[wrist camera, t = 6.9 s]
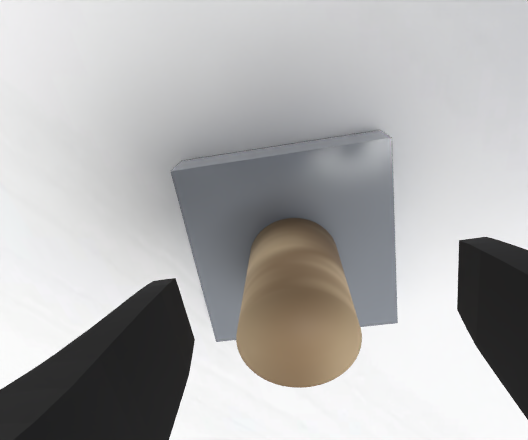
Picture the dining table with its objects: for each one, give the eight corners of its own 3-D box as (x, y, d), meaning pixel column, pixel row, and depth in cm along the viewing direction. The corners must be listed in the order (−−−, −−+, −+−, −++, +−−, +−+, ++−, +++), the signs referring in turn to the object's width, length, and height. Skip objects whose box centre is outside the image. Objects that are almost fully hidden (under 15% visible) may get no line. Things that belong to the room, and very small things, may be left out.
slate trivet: (380, 129, 18) (391, 137, 16) (387, 300, 22) (397, 323, 20) (181, 160, 19) (170, 171, 17) (221, 319, 23) (216, 341, 21)
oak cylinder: (345, 223, 18) (373, 295, 12) (329, 299, 19) (348, 393, 14) (253, 213, 18) (240, 281, 12) (246, 290, 19) (232, 380, 14)
